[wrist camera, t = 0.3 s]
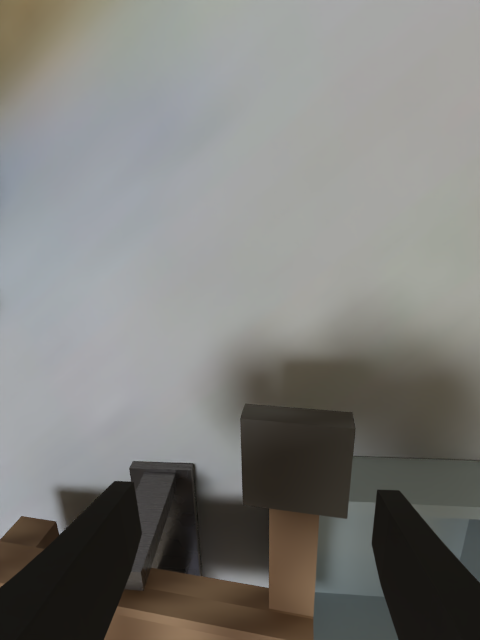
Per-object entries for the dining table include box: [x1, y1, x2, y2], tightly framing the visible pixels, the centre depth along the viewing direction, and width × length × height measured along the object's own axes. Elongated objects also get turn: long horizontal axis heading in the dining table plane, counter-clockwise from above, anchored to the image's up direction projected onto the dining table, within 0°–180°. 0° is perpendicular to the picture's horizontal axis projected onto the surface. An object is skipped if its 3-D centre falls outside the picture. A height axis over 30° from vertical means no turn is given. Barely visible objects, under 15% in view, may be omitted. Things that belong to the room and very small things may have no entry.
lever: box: [0, 404, 355, 640], centre depth 17 cm, size 19×17×5 cm
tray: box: [313, 456, 480, 640], centre depth 22 cm, size 12×12×4 cm
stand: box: [125, 462, 202, 591], centre depth 21 cm, size 4×10×7 cm, turn 2°
